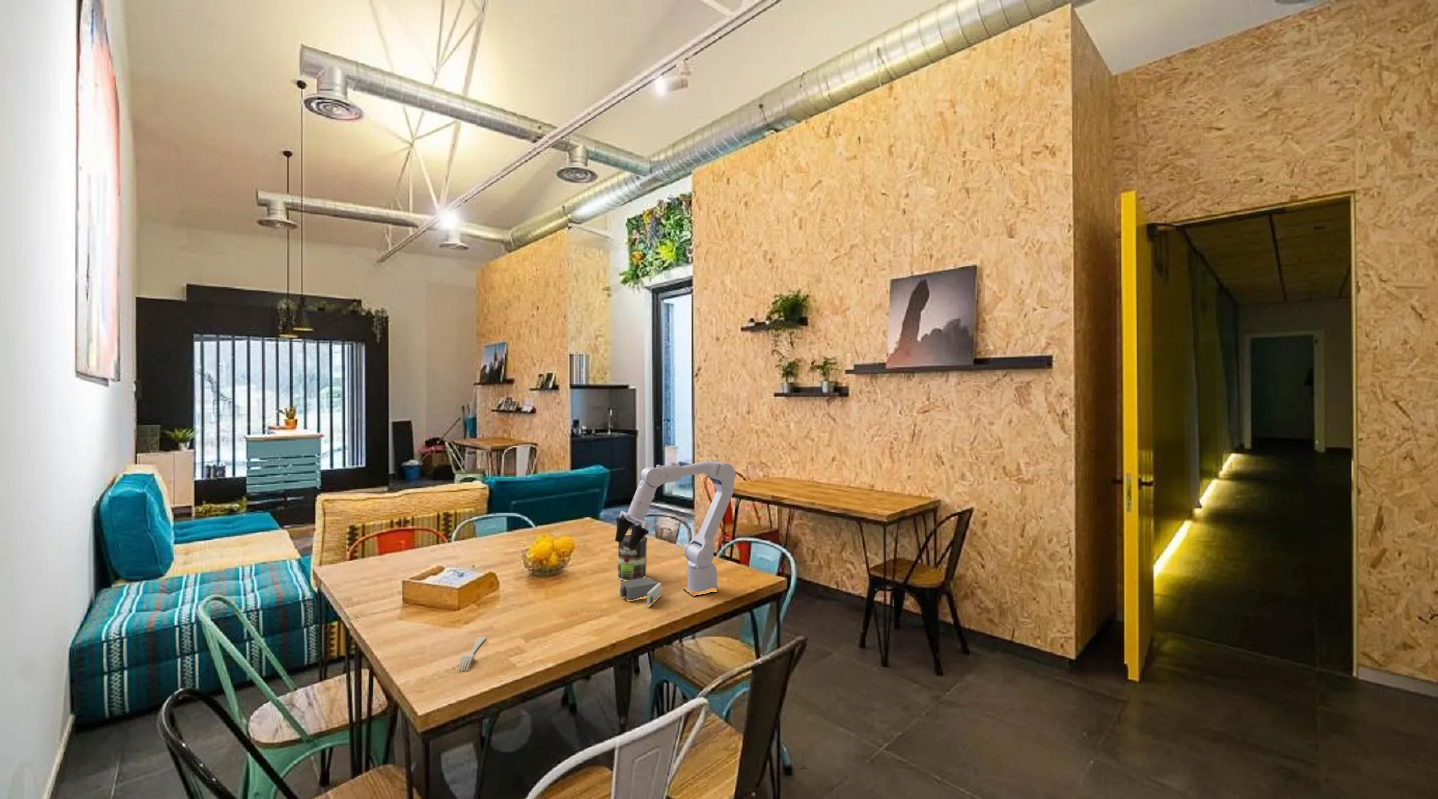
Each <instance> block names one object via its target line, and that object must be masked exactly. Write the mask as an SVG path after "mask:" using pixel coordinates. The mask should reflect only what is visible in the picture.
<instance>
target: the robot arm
mask: <svg viewBox="0 0 1438 799" xmlns="http://www.w3.org/2000/svg"><path fill="white" fill-rule="evenodd" d="M701 474H704V475H706V476H707V477H708V479H709V480H710V481H711V482H712V483H713V485H714V488H715V491H716V492H715V494H714V495H713V498H712V500H711V503H710V506H709V508H708V510H707V512H706V514H705V517H704V520H703V521H702V524H701V526H700V529H699V532H698V533H697V534H696V535H694V536H692V537H691V540H690V542H689V543H688V544H687V545H685V546H686V547H685V548H684V556H685V559H687V587H688V589H689V590H690V591H694V592H701V591H705V590H707V589H710V588H717V589H718V570H717V566H716V565H715V564H714V563H713V561H714V552H715V550H716V545H715V542H714V540H715V537H716V534H717V532H718V530H719V527H720V525H721V523H722V520H723V518H724V515H725V513H726V511H727V508H728V506H729V504H730V501H731V499H732V496H733V494H734V490H735V478H736V476H737V473H736V471H735V468H734V466H733V465H732V464H731V463H727V462H726V463H725V462H720V461H718V460H714V459H713V460H704V461H700V462H699V461H698V462H694V463H690V464H686V465H682V466H681V464H679V463H676V462H674V461H671V462H669V464H664V465H661V464H656V467H653V466H646V467H644V469H642V470H641V471H640V472H639V483H638V485H637V488H636V490H635V493H634V495H633V497H632V500H631V502H630V505H629V508H628V511H627V512H626V511H623V510H620V513H619V516H618V517H616V519H615V520H616V521H615V522H616V533H615V538H614V542H618V543H619V542H620V543H621V542H622V541H623V539H624V537H625V535H627V533H628V531H629V530H630V529H631V532H630V535H631V537H630V540H629V543H628V548H629V549H633V550H634V549H635V547H636V546H637V544H638V543H639V542H640V540H641V539H642V538H643V537H644V536H645V537H646V536H647V535H648V534H649V532H650V531H649V529H650V526H651V523H649V522H648V521H647V520H645V518H646V516H647V514H648V511H649V509H650V506H651V503H652V501H653V499H654V496H655V494H656V491H657V489H658V487H660V486H662V485H663V484H669V483H674V482H675V483H676V482H679V481H681V480H682V479H683V477H686V476H693V475H695V476H696V475H701Z"/></svg>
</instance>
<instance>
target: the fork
mask: <svg viewBox="0 0 1438 799" xmlns="http://www.w3.org/2000/svg"><path fill="white" fill-rule="evenodd" d="M486 637H487V636H481V637H479V636H478V637H477V638H476V639H475V642H474V644H473V647H472V650H471V652H470V653H469V654H463V655H462V656H461V658H460V661H459V665H458V671H459V672H461V671H462V672H463V670H464V672H466V671H467V672H468V670H469V667H470V664H471V662H472V660H473V658H474V656H475V653H476V651H477V650H478V648H479V647H480V646H481V645H482V644H483V642H484V641H485V640H487V638H486ZM458 671H457V672H458Z"/></svg>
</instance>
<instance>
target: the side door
mask: <svg viewBox="0 0 1438 799" xmlns="http://www.w3.org/2000/svg"><path fill="white" fill-rule="evenodd" d="M657 583H658V584H657V585H655V586H654V587H653V588H652V589H651V590H650V591H649V592H648V593H647V599H646V606H647V605H650V604H652V603H653V602H654V600H656V599H657V598H658V596H660V595H661V596H662V582H657Z"/></svg>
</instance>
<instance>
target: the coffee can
mask: <svg viewBox="0 0 1438 799" xmlns="http://www.w3.org/2000/svg"><path fill="white" fill-rule="evenodd" d="M630 537H631V534H626V535H625V537H624V539H623V541H622V542H621V543H620V542H618V549H617V550H618V553H617V554H618V556H617V557H618V559H617V560H618V562H617V564H618V565H617V571H618V572H617V578H618V577H619V579H621V580H633V579H639V578H643V577H644V576H647V562H648V561H647V558H648V556H647V555H648V554H647V553H648V550H647V549H648V537H647V536H646V535H645V536H644V537H643V538H642V539H641V540H640V542H639V543H638V544H637V546H636V547H635V549H634V550H633V549H629V548H628V543H629V540H630ZM619 579H618V580H619ZM621 580H620V581H621Z"/></svg>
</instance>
